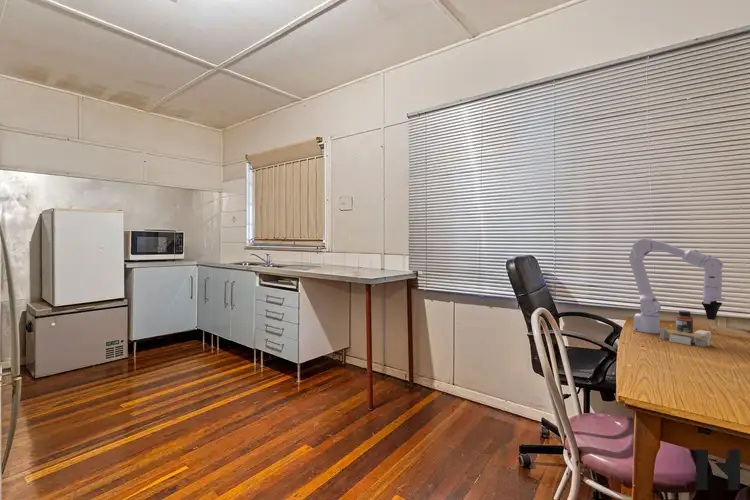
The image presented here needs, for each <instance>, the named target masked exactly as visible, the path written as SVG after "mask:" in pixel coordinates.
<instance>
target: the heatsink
mask: <svg viewBox="0 0 750 500" xmlns="http://www.w3.org/2000/svg"><path fill="white" fill-rule="evenodd" d="M668 339H669V342H671V343H676V344H682V345H687V346H691V345H695V340H696V337H692V336H686V335H680V334H674V333H669V337H668Z"/></svg>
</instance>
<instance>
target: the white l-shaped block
mask: <svg viewBox="0 0 750 500" xmlns="http://www.w3.org/2000/svg"><path fill="white" fill-rule="evenodd" d="M693 334H694V335H699V336H704V337H703V338H698V337H696V340H701V341H706V346H705V347H709V346H711V341H712V340H711V339H712V331H709V330H704V329H703V330H702V329H697V330H696V331H694V332H693Z"/></svg>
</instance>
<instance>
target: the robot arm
mask: <svg viewBox="0 0 750 500" xmlns="http://www.w3.org/2000/svg"><path fill="white" fill-rule="evenodd" d="M652 251H653V252H654V251H662V252H666V253H668V254H670V255H674V256H676V257H679V258H681V259H682V260H683V262H684V263H687V264H689V265H692V266H695V267H697V268H699V269H701V268H703V269H704V275H703V291H702V301H701V304H702V306H703V308H704V311H705V315H706V319H707V320H711V321H715V320H716V318H717V315H718V312H719V310H720V307H722V305H723V303H722V302H721V301H726V298H723V297H722V290H723V289H722V287H723V285H722V284H723V276H722V275H723V272H722V269H723V267H724V263H723V261H722V260H721V259H720V258H718V257H712V255H710V254H708V255H707V254H704V253H701V252H699V250H697V249H688V250H684V249H681V248H679V247H677V246H674V245H672V244H669V243H667V242H665V241H660V240H656V239H652V238H647V237H645V238H644V237H642V238H639V239H637V240H636V241H635V242H634V243H633V244H632V249H631V251H630V253H629V257H628V260H629V263H630V267H631V270H632V273H633V276H634V280H635V282H636V285H637V289H638V293H639V301H640V305H639V310H640V311H641V312H640V313H639V312H638V313H635V314H634V317H633V328H632V330H633V332H635V331H636V332H641V333H645V334H660V323H661V322H660V321H661V319H660V318H661V315H660V313H659V312H660V311H661V308H662V306H661V303H660V302H659V301H658V300H657V297H656V296H655V294H654V292H653V289H652V287H651V283H650V279H649V277H648V276H649V275H648V273H647V271H646V270H647V269H646V267H645V263H644V258H645V257H646V256H647V255H648V254H649V253H650V252H652Z"/></svg>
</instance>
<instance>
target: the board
mask: <svg viewBox="0 0 750 500" xmlns="http://www.w3.org/2000/svg"><path fill="white" fill-rule="evenodd" d="M665 329H669V327H666V326H663V327H662V328H661V327H659V339H660V340H666V339H669V332H665ZM669 330H670V329H669ZM694 346H697V347H703V348H704V347H707V346H706V341H701V340H695V343H694Z"/></svg>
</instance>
